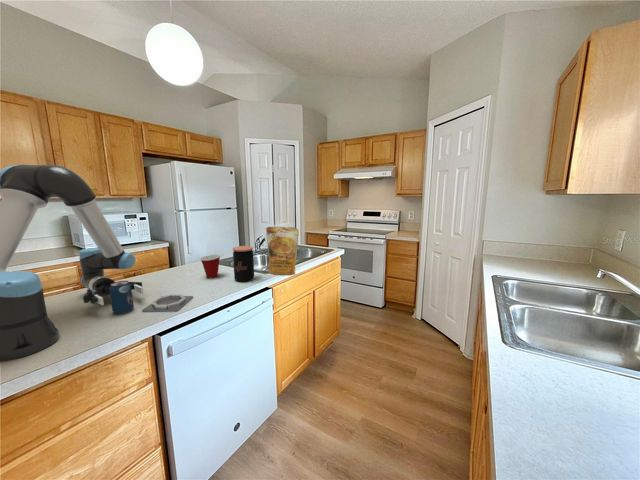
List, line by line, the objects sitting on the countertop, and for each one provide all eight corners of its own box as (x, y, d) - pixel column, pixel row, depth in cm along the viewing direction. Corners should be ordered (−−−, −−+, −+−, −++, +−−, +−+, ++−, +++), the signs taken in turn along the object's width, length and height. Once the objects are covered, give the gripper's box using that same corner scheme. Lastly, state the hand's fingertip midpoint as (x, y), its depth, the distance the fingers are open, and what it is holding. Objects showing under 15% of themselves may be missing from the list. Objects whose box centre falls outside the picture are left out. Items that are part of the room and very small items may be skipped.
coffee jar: (230, 280, 140) (228, 248, 137) (244, 275, 149) (242, 245, 146) (244, 283, 135) (243, 250, 132) (258, 278, 145) (257, 247, 141)
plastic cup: (201, 275, 149) (199, 255, 147) (221, 272, 154) (219, 253, 152) (201, 281, 140) (199, 259, 137) (222, 278, 144) (221, 257, 142)
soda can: (135, 311, 103) (131, 283, 101) (113, 316, 99) (109, 287, 97) (133, 305, 109) (129, 278, 106) (112, 310, 104) (107, 282, 102)
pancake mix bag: (269, 271, 158) (267, 226, 153) (299, 272, 154) (298, 226, 149) (265, 274, 151) (263, 227, 146) (296, 276, 148) (295, 228, 143)
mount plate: (142, 311, 103) (141, 307, 103) (162, 297, 117) (161, 293, 116) (177, 311, 103) (177, 306, 103) (193, 297, 117) (192, 293, 117)
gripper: (135, 285, 125) (157, 294, 114) (66, 303, 105) (84, 316, 93) (133, 270, 124) (155, 278, 113) (63, 286, 103) (81, 297, 92)
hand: (123, 295), depth 103 cm, fingers open, 13 cm apart
